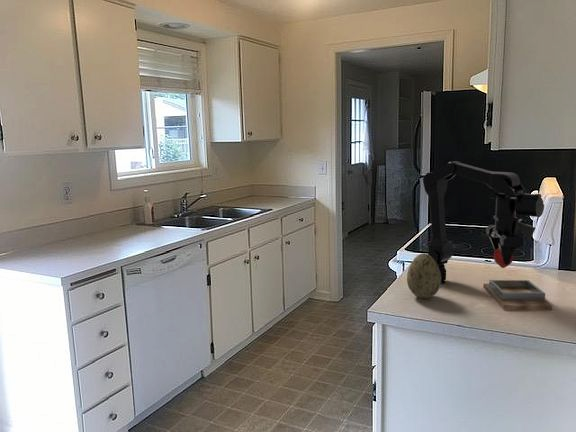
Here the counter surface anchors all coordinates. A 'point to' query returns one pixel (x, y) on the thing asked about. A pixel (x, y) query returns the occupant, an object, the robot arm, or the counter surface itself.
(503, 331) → the counter surface
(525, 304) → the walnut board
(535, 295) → the square metal frame
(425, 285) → the decorative egg
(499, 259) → the onion
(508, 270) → the counter surface
